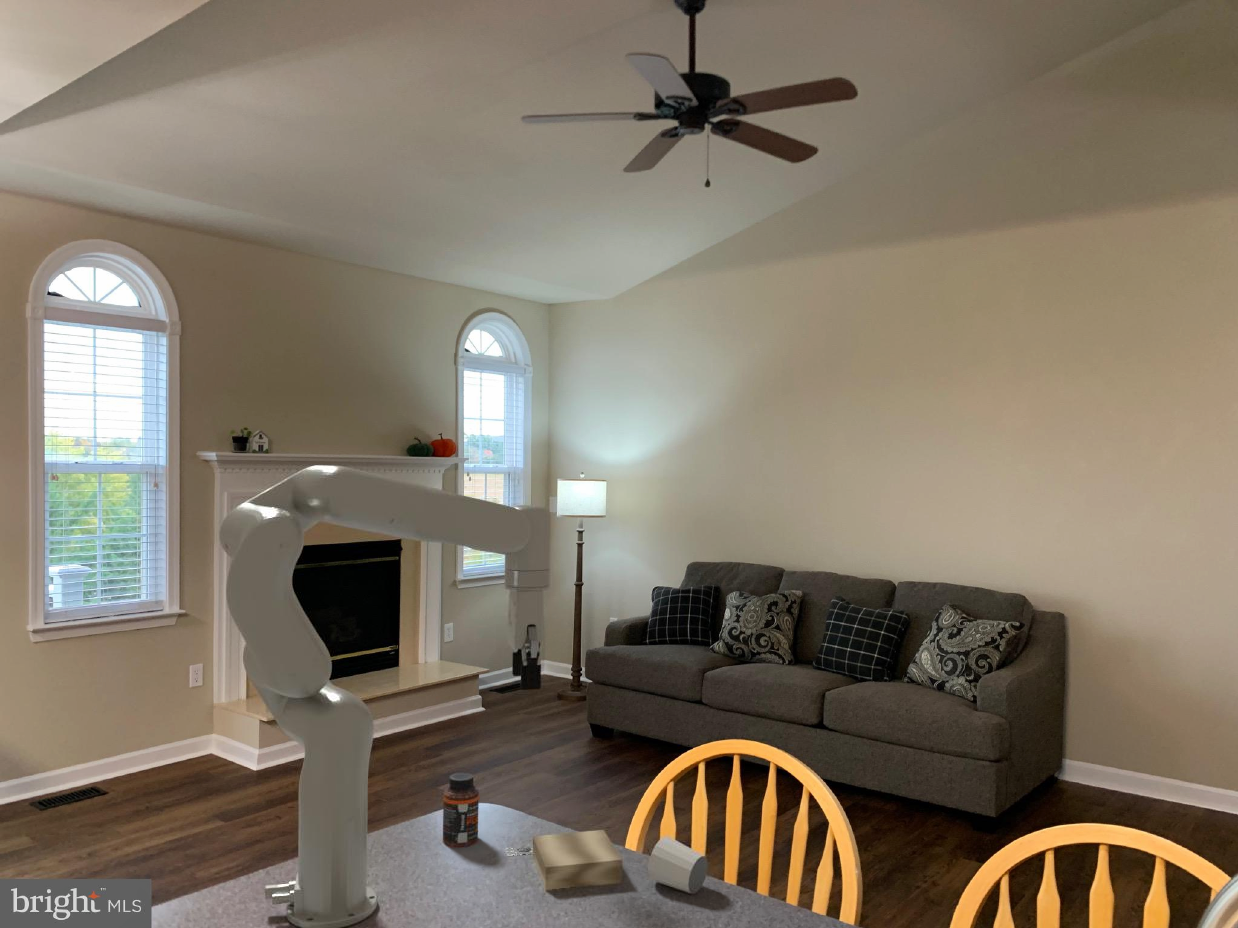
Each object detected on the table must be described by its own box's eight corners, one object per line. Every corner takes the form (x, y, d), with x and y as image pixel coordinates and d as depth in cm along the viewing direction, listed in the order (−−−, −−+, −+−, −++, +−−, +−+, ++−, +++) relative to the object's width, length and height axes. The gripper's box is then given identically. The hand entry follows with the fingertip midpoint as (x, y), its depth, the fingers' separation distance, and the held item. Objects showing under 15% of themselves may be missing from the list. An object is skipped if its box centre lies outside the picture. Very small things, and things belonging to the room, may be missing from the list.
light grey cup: (698, 901, 144) (660, 884, 148) (714, 857, 147) (676, 841, 151) (680, 892, 139) (642, 875, 143) (697, 846, 142) (659, 830, 146)
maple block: (545, 893, 143) (545, 867, 143) (532, 860, 155) (532, 836, 155) (621, 885, 146) (622, 859, 146) (603, 853, 158) (603, 829, 158)
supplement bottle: (471, 850, 157) (472, 783, 157) (437, 848, 158) (438, 780, 158) (482, 836, 163) (483, 771, 163) (449, 834, 164) (450, 769, 164)
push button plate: (507, 857, 155) (507, 855, 155) (504, 847, 159) (504, 845, 159) (543, 854, 156) (543, 852, 156) (539, 844, 160) (539, 842, 160)
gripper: (498, 573, 164) (497, 671, 165) (511, 587, 148) (510, 696, 148) (540, 572, 166) (539, 669, 166) (559, 586, 150) (557, 693, 150)
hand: (526, 681), depth 157 cm, fingers open, 9 cm apart
